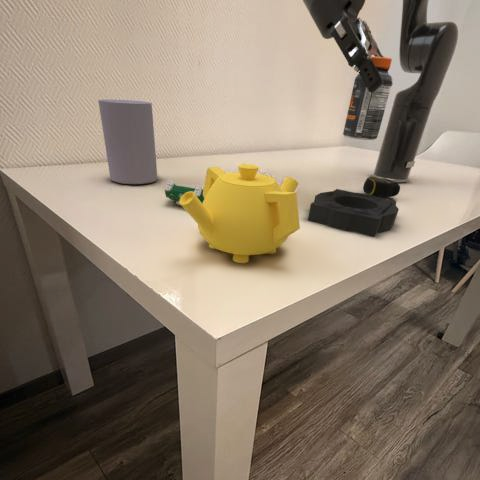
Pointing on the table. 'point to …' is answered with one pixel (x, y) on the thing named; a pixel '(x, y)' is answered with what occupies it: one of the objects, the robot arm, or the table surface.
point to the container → (129, 141)
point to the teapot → (244, 211)
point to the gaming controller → (182, 191)
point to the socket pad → (353, 212)
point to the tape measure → (380, 187)
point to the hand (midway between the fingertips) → (382, 88)
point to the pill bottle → (368, 104)
